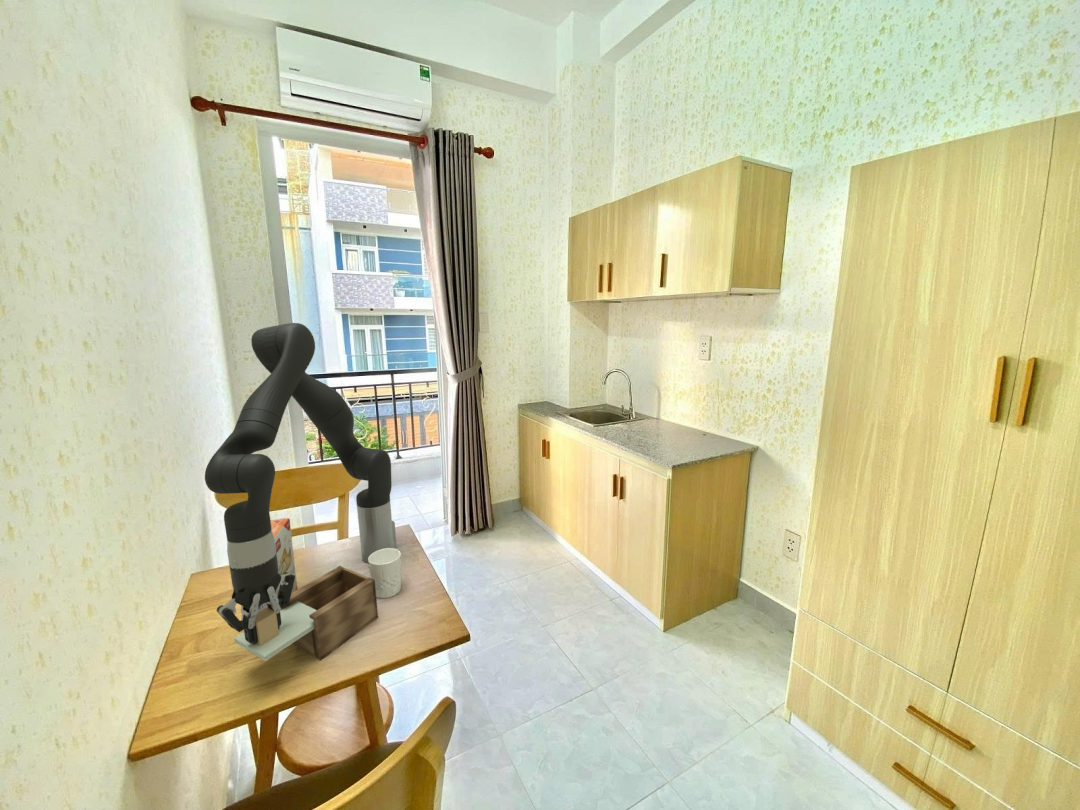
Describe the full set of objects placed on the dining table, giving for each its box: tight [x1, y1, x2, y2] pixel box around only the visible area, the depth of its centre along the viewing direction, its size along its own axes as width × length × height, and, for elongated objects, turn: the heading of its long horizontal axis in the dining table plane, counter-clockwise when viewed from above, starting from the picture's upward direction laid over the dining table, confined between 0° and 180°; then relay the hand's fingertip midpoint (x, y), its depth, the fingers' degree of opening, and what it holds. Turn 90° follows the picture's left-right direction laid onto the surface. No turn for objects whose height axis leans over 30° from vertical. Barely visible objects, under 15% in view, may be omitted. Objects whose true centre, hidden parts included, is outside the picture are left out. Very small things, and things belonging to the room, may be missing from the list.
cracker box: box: [258, 517, 298, 611], centre depth 104 cm, size 14×6×21 cm, turn 14°
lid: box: [233, 601, 317, 662], centre depth 88 cm, size 13×10×6 cm
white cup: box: [368, 548, 402, 599], centre depth 112 cm, size 8×8×10 cm
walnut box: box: [281, 565, 379, 661], centre depth 98 cm, size 15×12×10 cm
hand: (264, 635), depth 85 cm, fingers closed on lid, 3 cm apart
